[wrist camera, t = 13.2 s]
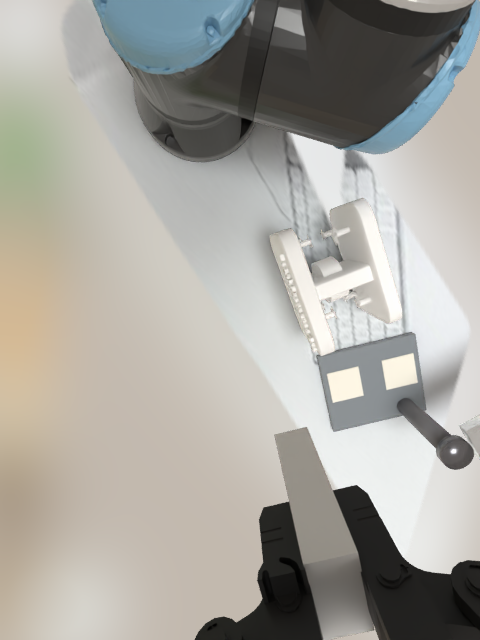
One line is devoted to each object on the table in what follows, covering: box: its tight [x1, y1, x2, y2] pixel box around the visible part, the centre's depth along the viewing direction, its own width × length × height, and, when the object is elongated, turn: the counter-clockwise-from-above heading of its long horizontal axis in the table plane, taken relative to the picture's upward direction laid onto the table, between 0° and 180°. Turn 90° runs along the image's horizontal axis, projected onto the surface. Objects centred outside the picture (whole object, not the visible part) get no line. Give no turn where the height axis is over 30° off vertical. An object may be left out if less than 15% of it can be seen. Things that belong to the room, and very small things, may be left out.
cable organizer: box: [270, 198, 402, 356], centre depth 43 cm, size 15×11×12 cm
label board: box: [317, 332, 451, 449], centre depth 46 cm, size 12×14×12 cm
